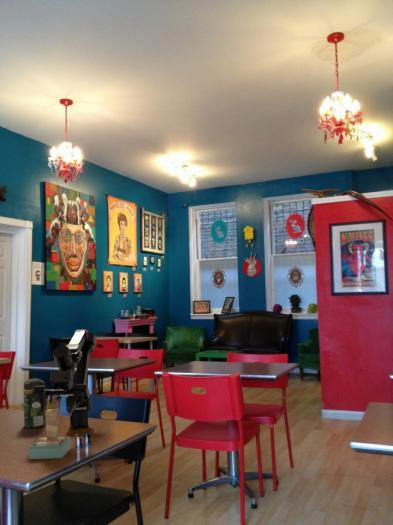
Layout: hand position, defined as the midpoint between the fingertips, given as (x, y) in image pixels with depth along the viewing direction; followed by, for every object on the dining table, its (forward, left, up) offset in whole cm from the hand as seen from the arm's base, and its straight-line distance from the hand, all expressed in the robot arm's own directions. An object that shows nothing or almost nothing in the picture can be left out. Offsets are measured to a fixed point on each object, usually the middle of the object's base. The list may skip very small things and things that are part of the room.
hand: (56, 414), depth 161 cm
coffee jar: (+4, -40, -11) cm, 41 cm away
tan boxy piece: (+2, +5, -8) cm, 10 cm away
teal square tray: (+2, +5, -11) cm, 13 cm away
